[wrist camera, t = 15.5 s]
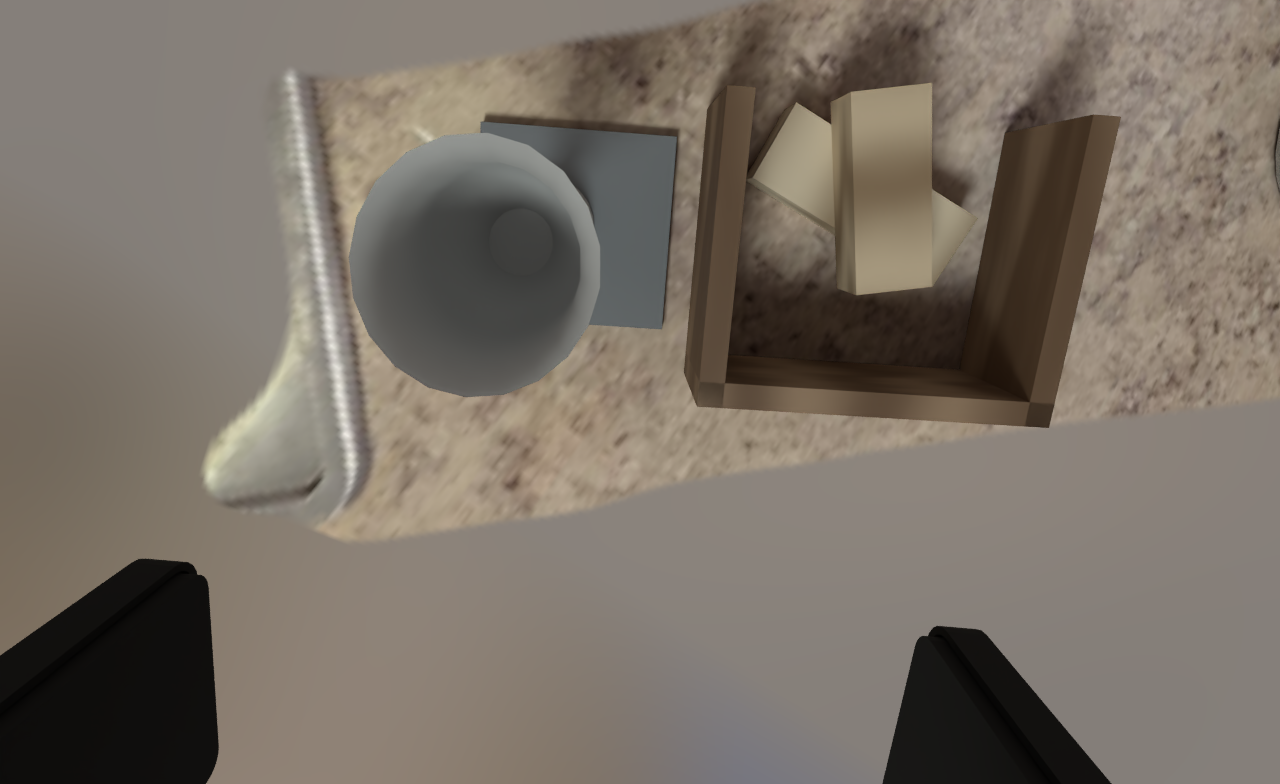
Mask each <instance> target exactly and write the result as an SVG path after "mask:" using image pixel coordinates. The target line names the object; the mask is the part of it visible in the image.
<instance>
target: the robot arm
mask: <svg viewBox="0 0 1280 784" xmlns="http://www.w3.org/2000/svg"><path fill="white" fill-rule="evenodd" d="M1276 177H1277V182H1278V186H1279V190H1280V129H1279V135H1278V141H1277V147H1276ZM209 604H210V603H209V588H208V582H207V580H206V578H205V577H204V576H202V575H197V571H196V570H195V568H194V566H193V565H192V564H190V563H188V562H178V561H167V560H154V559H138V560H136V561H134V562H132V563H131V564H129V565H128V566H127V567H125V568H123V569H122V570H121V571H119V572H118V573H116V574H115V575H114V576H112V577H111V578H109V579H108V580H106V581H105V582H104V583H102V584H101V585H100V586H98V587H97V588H95V589H94V590H92V591H91V592H89V593H88V594H87V595H85V596H84V597H82V598H81V599H80V600H78V601H77V602H75V603H74V604H72V605H71V606H70V607H68V608H67V609H65V610H64V611H63V612H61V613H60V614H58V615H57V616H56V617H54V618H53V619H51V620H50V621H48V622H47V623H46V624H44V625H43V626H41V627H40V628H39V629H37V630H36V631H34V632H33V633H31V634H30V635H29V636H27V637H26V638H24V639H23V640H22V641H20V642H19V643H17V644H16V645H15V646H13V647H12V648H10V649H9V650H7V651H6V652H5V653H3V654H2V655H0V784H206V783H207V781H208V779H209V778H210V776H211V774H212V772H213V770H214V767H215V764H216V761H217V757H218V748H219V745H218V728H217V713H216V697H215V681H214V666H213V650H212V634H211V619H210V605H209ZM883 784H1111V783H1110V781H1109V780H1108V779H1107V778H1106V777H1105V776H1104V774H1103V773H1102V772H1101V771H1100V769H1099V768H1098V767H1097V766H1096V765H1095V764H1094V762H1093V761H1092V760H1091V759H1090V758H1089V756H1088V755H1087V754H1086V753H1085V752H1084V750H1083V749H1082V748H1081V747H1080V746H1079V744H1077V742H1076V741H1075V740H1074V739H1073V737H1072V736H1071V735H1070V734H1069V733H1068V731H1067V730H1066V729H1065V728H1064V727H1063V726H1062V724H1061V723H1060V722H1059V721H1058V720H1057V718H1056V717H1055V716H1054V715H1053V714H1052V712H1051V711H1050V710H1049V709H1048V708H1047V706H1046V705H1045V704H1044V703H1043V702H1042V700H1041V699H1040V698H1039V697H1038V696H1037V694H1036V693H1035V692H1034V691H1033V690H1032V688H1031V687H1030V686H1029V685H1028V684H1027V683H1026V681H1025V680H1024V679H1023V678H1022V677H1021V675H1020V674H1019V673H1018V672H1017V671H1016V669H1015V668H1014V667H1013V666H1012V665H1011V663H1010V662H1009V661H1008V660H1007V659H1006V658H1005V656H1004V655H1003V654H1002V653H1001V652H1000V650H999V649H998V648H997V647H996V646H995V645H994V643H993V642H992V641H991V640H990V638H989V637H988V636H987V635H986V634H985V633H984V632H982V631H981V630H977V629H967V628H956V627H944V626H936V627H934V628H933V629H932V630H931V631H930V633H929V635H928V636H922V637H920V638H919V639H918V640H917V642H916V645H915V649H914V653H913V657H912V662H911V666H910V670H909V675H908V678H907V683H906V687H905V691H904V695H903V700H902V704H901V708H900V712H899V716H898V721H897V725H896V729H895V734H894V737H893V742H892V746H891V750H890V754H889V759H888V763H887V767H886V771H885V775H884V779H883Z"/></svg>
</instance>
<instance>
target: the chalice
mask: <svg viewBox="0 0 1280 784" xmlns="http://www.w3.org/2000/svg"><path fill="white" fill-rule="evenodd" d="M349 262H350V272H351V281H352V291H353V298H354V301H355V303H356V306H357V308H358V310H359V313H360V315H361V317H362V320H363V322H364V325H365V327H366V329H367V332H368V334H369V336H370V337H371V338H372V339H373V341H374V342H375V343H376V344H377V345H378V347H379V348H380V349H381V350H382V351H383V353H384V354H385V355H386V356H387V357H388V358H389V360H390V361H391V362H392V363H393V364H394V366H395V367H397V368H399V369H400V370H402V371H403V372H405V373H406V374H408V375H410V376H411V377H413V378H414V379H416V380H417V381H419V382H421V383H422V384H424V385H425V386H427V387H429V388H433V389H436V390H440V391H444V392H448V393H452V394H456V395H460V396H463V397H475V396H491V395H504V394H507V393H509V392H512V391H514V390H517V389H519V388H522V387H524V386H527V385H529V384H532V383H534V382H537V381H539V380H540V379H541V378H542V377H544V376H545V375H546V374H547V373H549V372H550V371H551V370H552V369H553V368H555V367H556V366H557V365H558V364H560V363H561V362H562V361H563V360H564V359H566V358H567V357H568V355H569V354H570V352H571V351H572V349H573V348H574V346H575V345H576V343H577V342H578V340H579V339H580V337H581V336H582V334H583V333H584V331H585V330H586V328H587V327H588V325H589V322H590V319H591V316H592V312H593V309H594V306H595V303H596V299H597V296H598V293H599V289H600V244H599V241H598V238H597V234H596V231H595V228H594V221H593V215H592V212H591V209H590V206H589V203H588V201H587V200H586V199H585V197H584V196H583V195H582V193H581V192H580V191H579V189H577V188H576V187H575V186H574V185H573V184H572V183H571V181H570V180H569V178H568V177H567V175H566V174H565V172H564V171H563V170H561V169H560V168H559V167H557V166H556V165H555V164H553V163H552V162H551V161H549V160H548V159H547V158H545V157H544V156H543V155H541V154H540V153H538V152H537V151H536V150H534V149H533V148H532V147H530V146H529V145H526V144H523V143H520V142H516V141H513V140H510V139H506V138H503V137H500V136H497V135H493V134H490V133H474V134H458V135H444V136H442V137H440V138H438V139H435V140H433V141H431V142H428V143H426V144H424V145H422V146H419V147H417V148H415V149H413V150H410V151H408V152H406V153H405V154H404V155H403V156H402V157H401V158H400V159H399V160H398V161H397V162H395V163H394V164H393V165H392V166H391V167H390V168H389V169H388V170H387V171H386V172H385V173H384V174H383V175H382V176H381V177H380V178H378V179H377V180H376V182H375V184H374V186H373V188H372V189H371V191H370V193H369V195H368V197H367V199H366V201H365V202H364V204H363V206H362V208H361V210H360V212H359V213H358V215H357V218H356V223H355V228H354V233H353V239H352V244H351V249H350V254H349Z"/></svg>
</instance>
